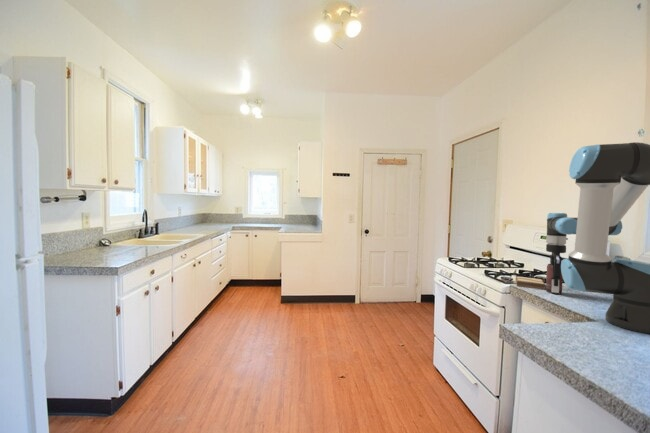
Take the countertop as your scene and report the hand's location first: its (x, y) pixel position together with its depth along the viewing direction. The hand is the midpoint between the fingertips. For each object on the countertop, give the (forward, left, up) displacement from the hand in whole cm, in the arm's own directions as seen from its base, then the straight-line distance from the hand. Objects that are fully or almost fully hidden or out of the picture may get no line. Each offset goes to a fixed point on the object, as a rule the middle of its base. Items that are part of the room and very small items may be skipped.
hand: (554, 291), depth 137 cm
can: (+1, 0, -1) cm, 2 cm away
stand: (+11, +9, -1) cm, 14 cm away
